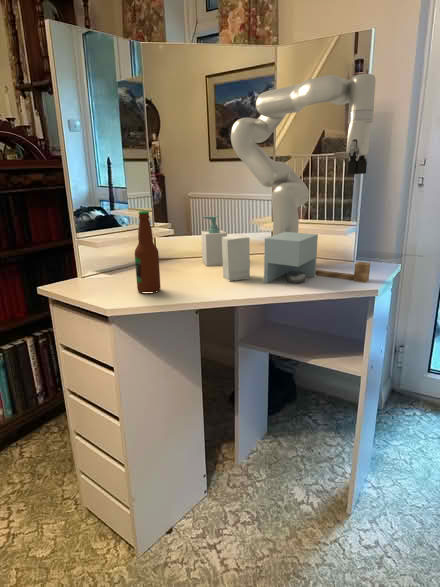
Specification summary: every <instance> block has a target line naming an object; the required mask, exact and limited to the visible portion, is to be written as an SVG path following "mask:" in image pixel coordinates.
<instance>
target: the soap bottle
mask: <svg viewBox="0 0 440 587" xmlns="http://www.w3.org/2000/svg"><path fill="white" fill-rule="evenodd" d="M217 218H219V215H216V216H202V219H205V220H206V219H207V220H211V224H209V225H210V226H209V227H210V228H208V230H201V256H202V258H201V259H202V260H201V262H202V261H203V262H204V263H203V262H202V263H203V264H204V265H205V266H206V267H213V266H212V265H217V266H223V255H222V237H228V233H227V232H226V231H224V230H222V229H220V228H219V227H218V224H216V222H217Z"/></svg>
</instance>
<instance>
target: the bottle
mask: <svg viewBox="0 0 440 587" xmlns="http://www.w3.org/2000/svg"><path fill="white" fill-rule="evenodd" d="M137 214H138V219H139V223H138V233H137V239H138V244H137V246H136V247H135V250H134V263H135V276H136V288H137V291H138V292H139V291H140V292H156V291H158V292H159V291H160V290H161V289H162V288H161V274H160V259H159V258H160V255H159V254H160V253H159V249H158V247H157V246H156V245H155V243H154V240H153V239H154V238H153V230H152V227H151V223H150V222H151V221H150V219H151V218H150V211H148V210H141V211H138V213H137ZM140 292H139V293H140ZM156 293H157V292H156Z"/></svg>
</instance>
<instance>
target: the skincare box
mask: <svg viewBox="0 0 440 587" xmlns="http://www.w3.org/2000/svg"><path fill="white" fill-rule="evenodd" d="M250 238H251V237H249V236H247V235H244V234H237V235H230V236H229V235H227V237H222V255H223V265H222V277H223V278H224V279H225V278H226V279H227V280H226V279H225V280H226V281H228V280H235V281H240V280H241V279H242V280H249V279H250V278H251V276H250V274H251V272H250V271H251V270H250V268H251V267H250V266H251V265H250V263H251V262H250V259H251V257H250ZM242 280H241V281H242Z"/></svg>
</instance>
